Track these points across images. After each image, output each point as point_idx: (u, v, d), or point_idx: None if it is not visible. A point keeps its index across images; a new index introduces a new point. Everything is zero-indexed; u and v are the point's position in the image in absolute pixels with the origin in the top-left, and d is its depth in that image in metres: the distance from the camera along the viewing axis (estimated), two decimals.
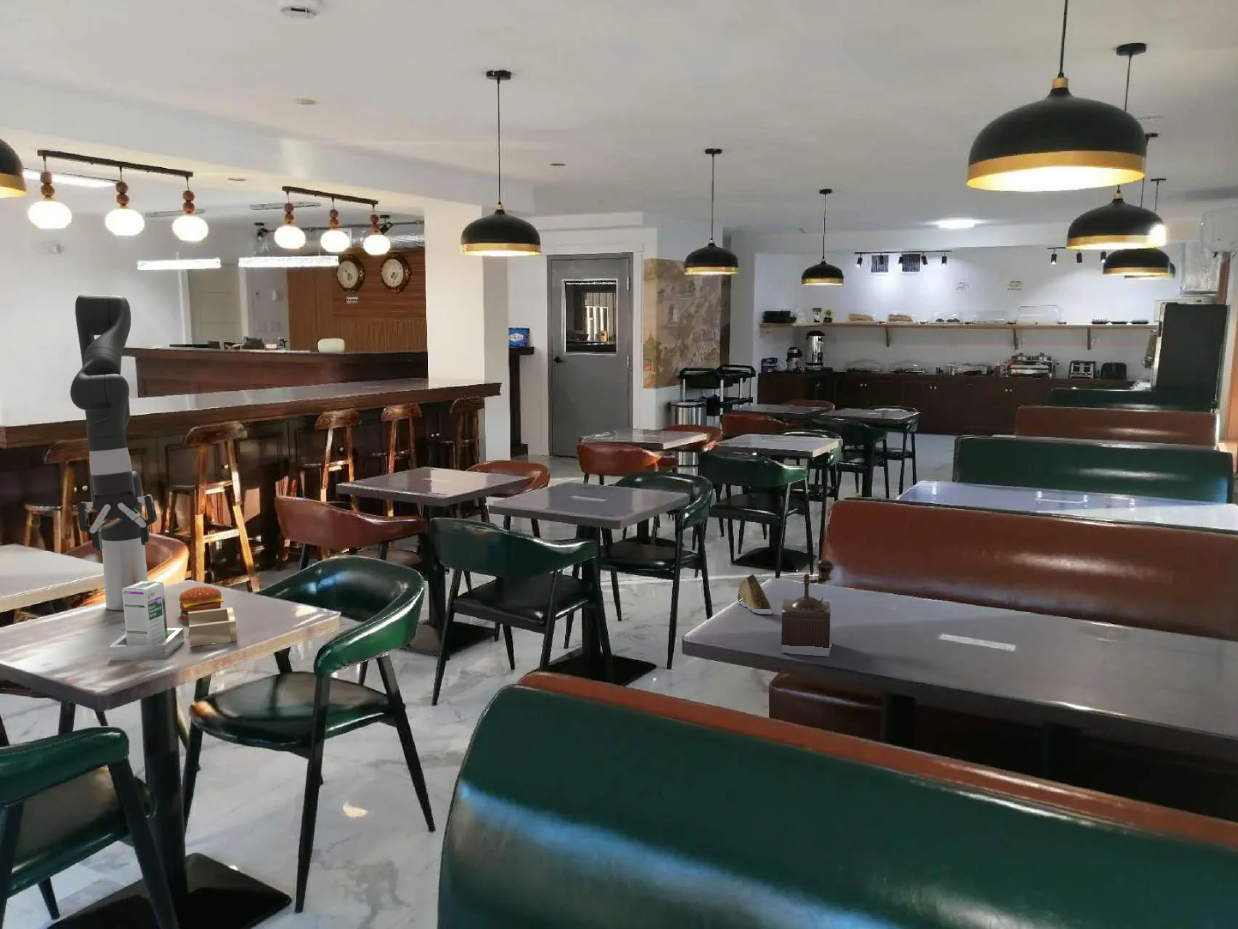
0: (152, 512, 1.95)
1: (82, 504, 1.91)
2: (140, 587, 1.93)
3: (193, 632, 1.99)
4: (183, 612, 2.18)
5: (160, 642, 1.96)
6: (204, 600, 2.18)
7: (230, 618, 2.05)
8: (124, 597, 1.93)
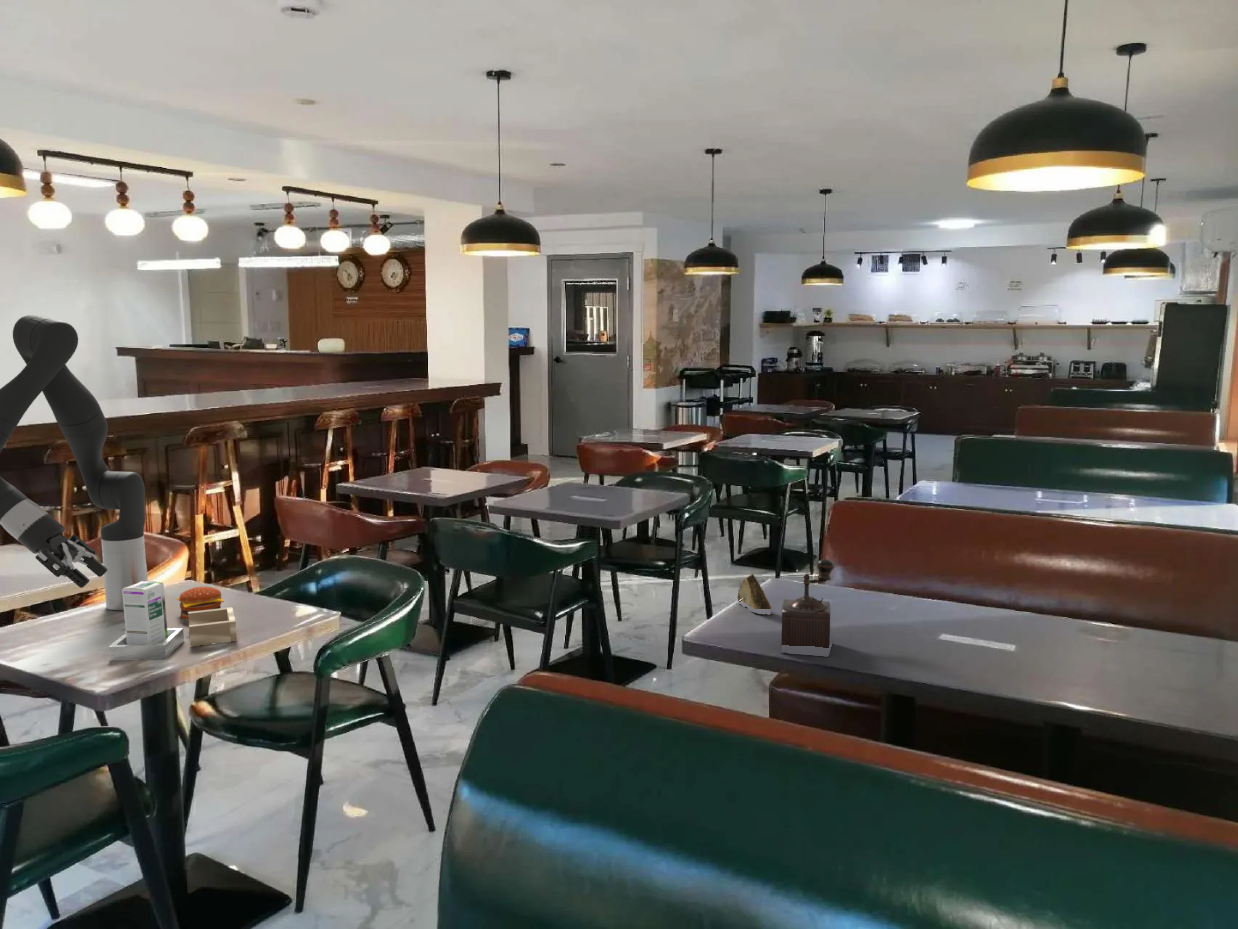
0: None
1: None
2: (140, 587, 1.93)
3: (193, 632, 1.99)
4: (183, 612, 2.18)
5: (160, 642, 1.96)
6: (204, 600, 2.18)
7: (230, 618, 2.05)
8: (124, 597, 1.93)
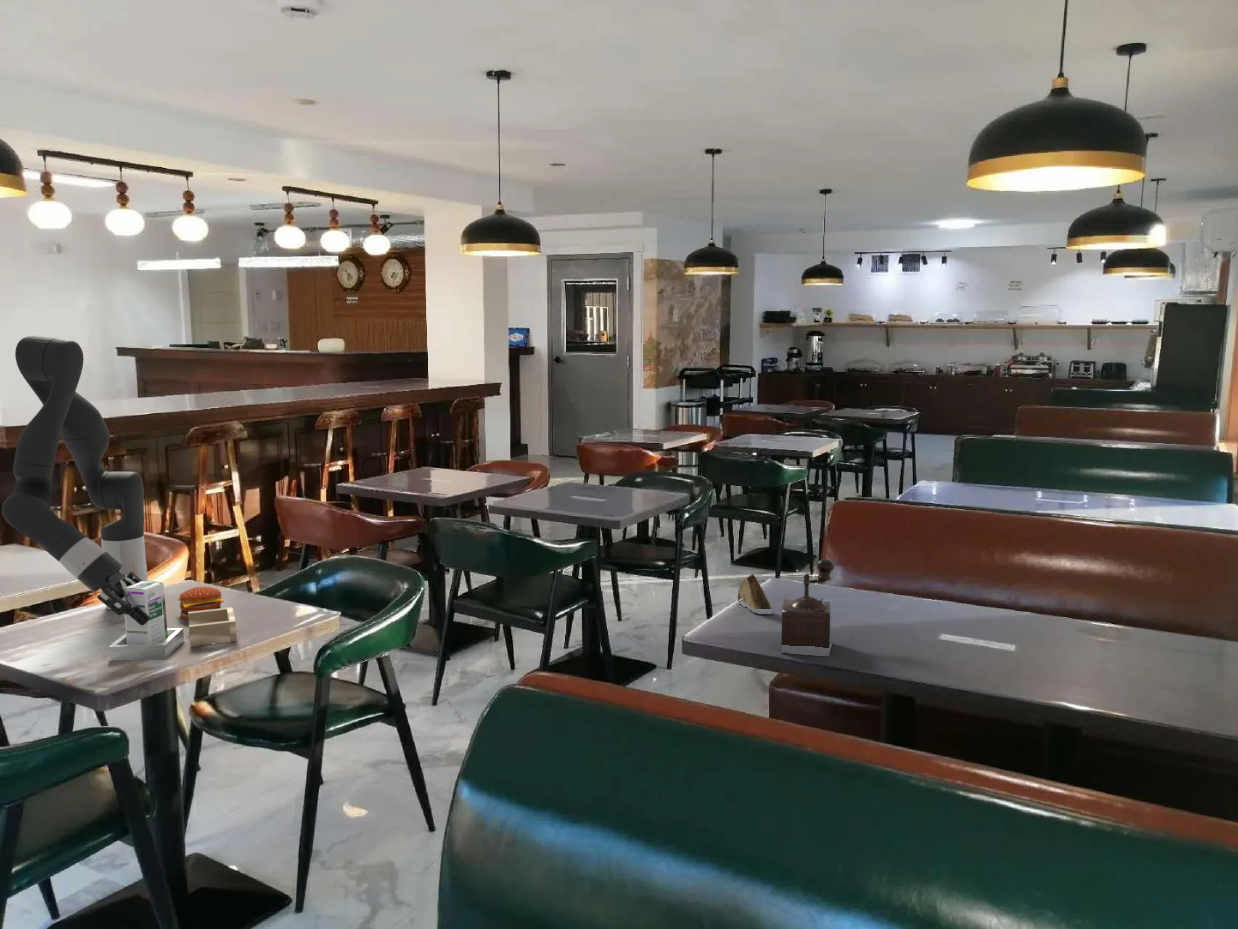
0: (111, 608, 1.88)
1: None
2: (140, 587, 1.93)
3: (193, 632, 1.99)
4: (183, 612, 2.18)
5: (160, 642, 1.96)
6: (204, 600, 2.18)
7: (230, 618, 2.05)
8: None
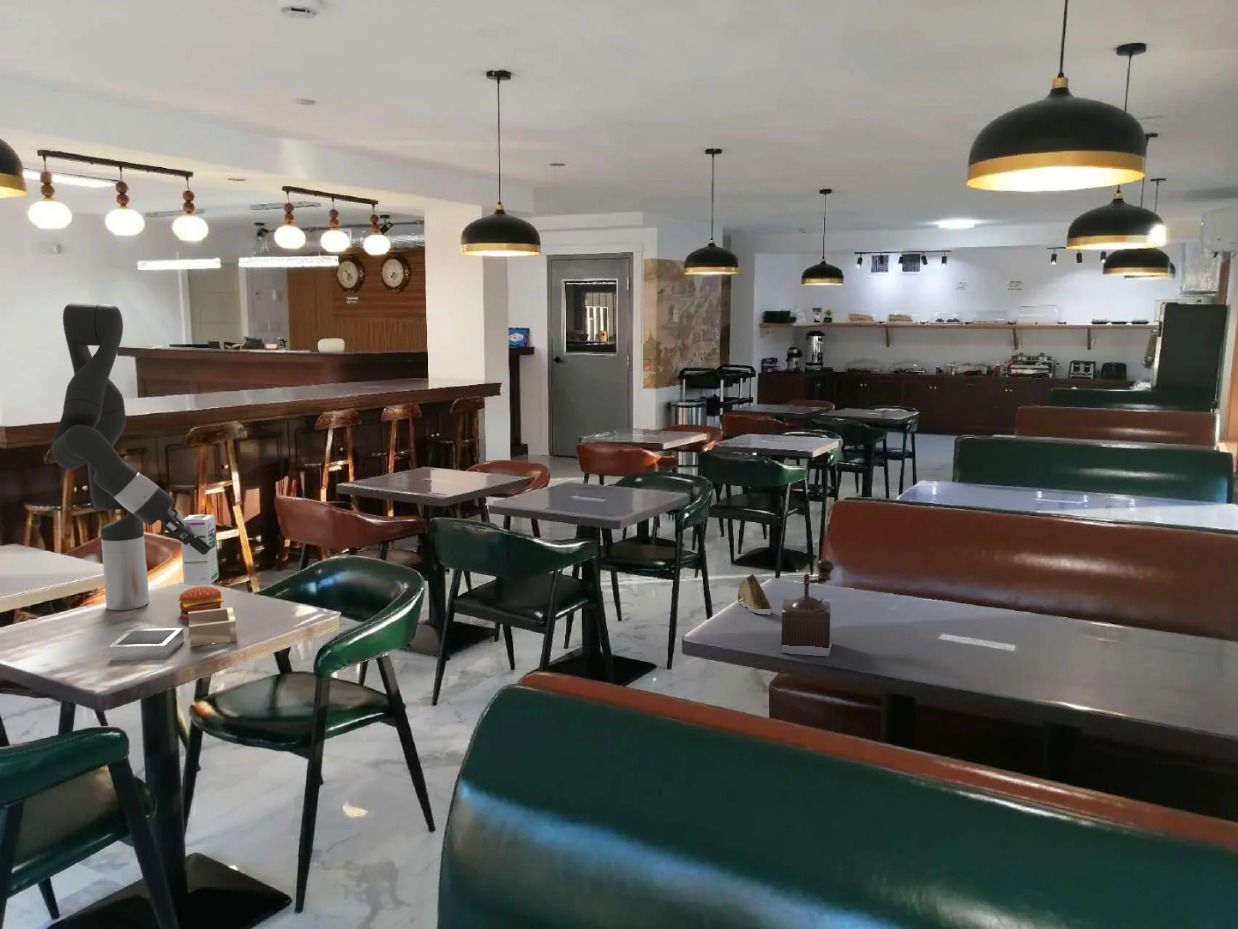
0: (178, 538, 1.95)
1: None
2: (199, 518, 2.00)
3: (193, 632, 1.99)
4: (183, 612, 2.18)
5: (215, 572, 2.04)
6: (204, 600, 2.18)
7: (230, 618, 2.05)
8: None
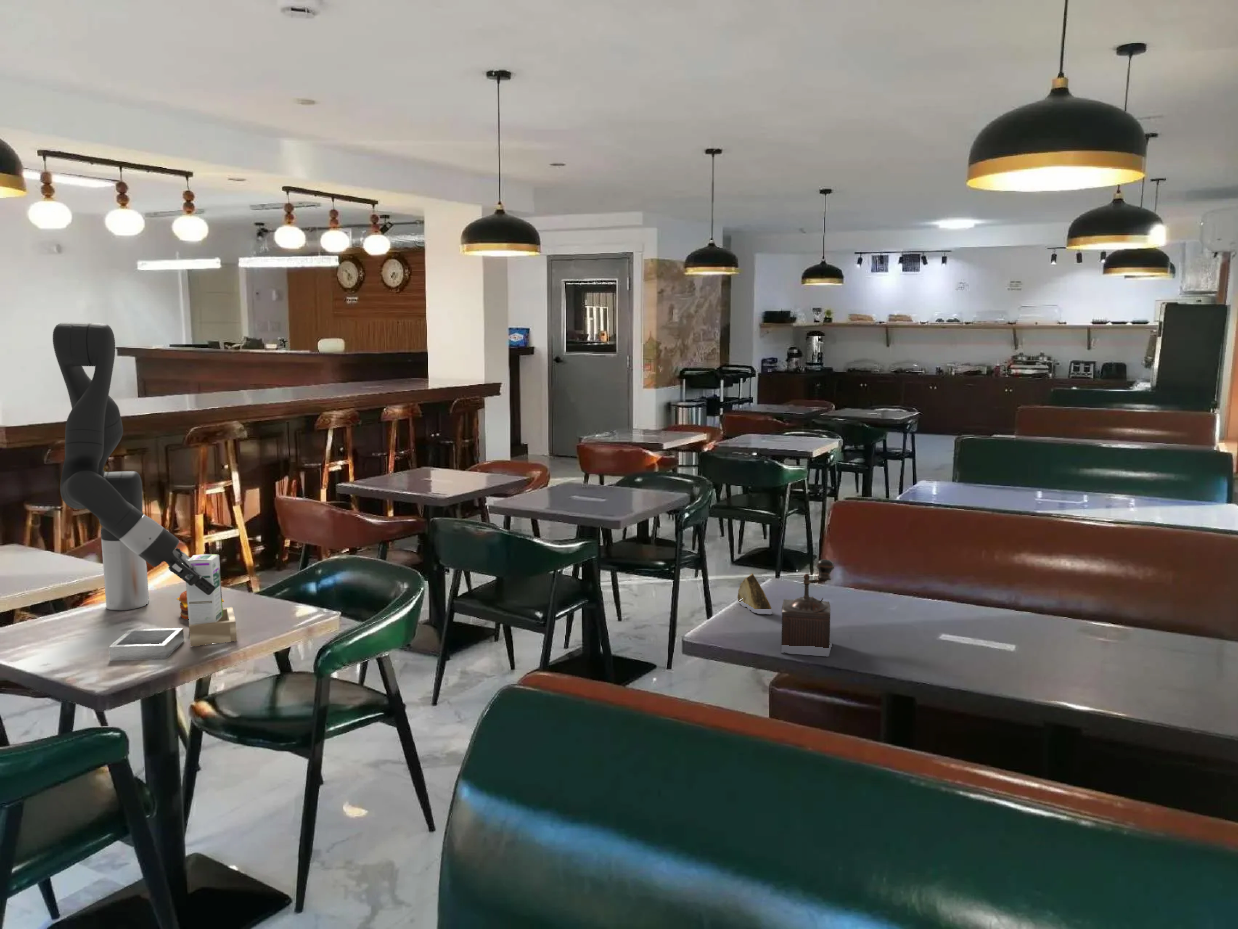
0: (183, 579, 1.96)
1: None
2: (203, 558, 2.01)
3: (193, 632, 1.99)
4: (183, 612, 2.18)
5: (219, 611, 2.06)
6: None
7: (230, 618, 2.05)
8: None
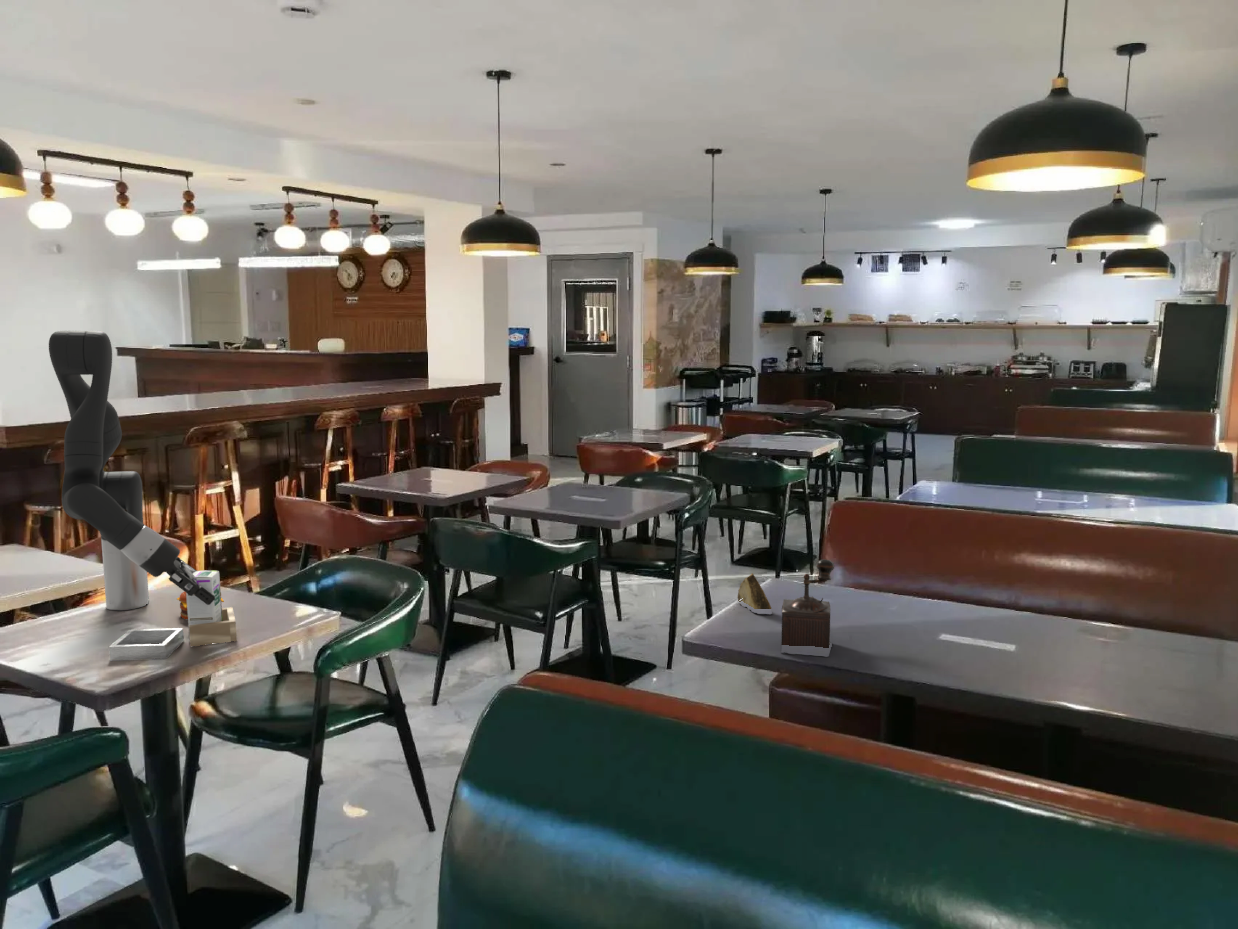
0: (183, 589, 1.96)
1: None
2: (204, 575, 2.02)
3: (193, 632, 1.99)
4: (183, 612, 2.18)
5: None
6: None
7: (230, 618, 2.05)
8: None
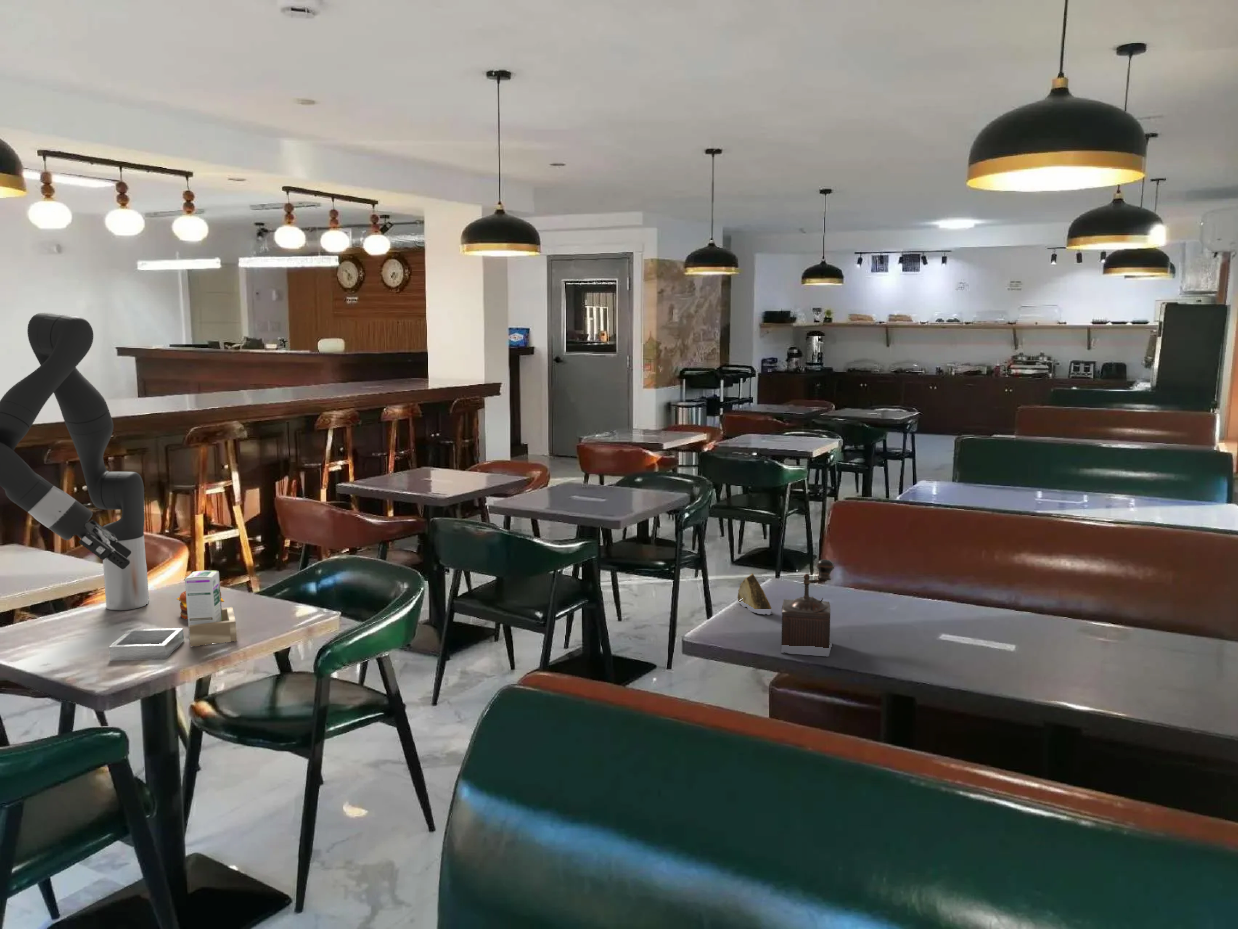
0: (94, 553, 1.89)
1: None
2: (204, 575, 2.02)
3: (193, 632, 1.99)
4: (183, 612, 2.18)
5: None
6: None
7: (230, 618, 2.05)
8: (187, 586, 2.01)
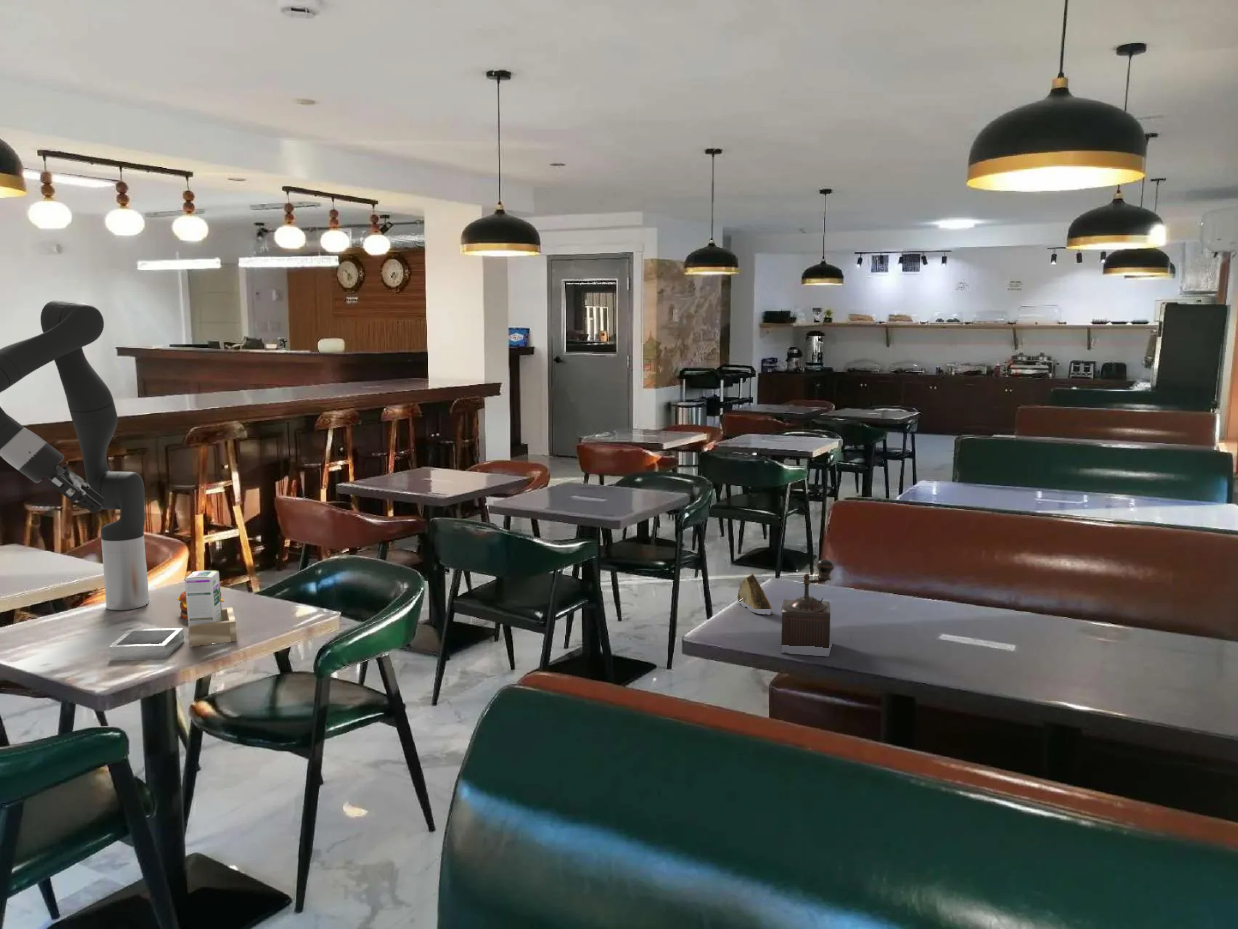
0: (64, 495, 1.86)
1: None
2: (204, 575, 2.02)
3: (193, 632, 1.99)
4: (183, 612, 2.18)
5: None
6: None
7: (230, 618, 2.05)
8: (187, 586, 2.01)
